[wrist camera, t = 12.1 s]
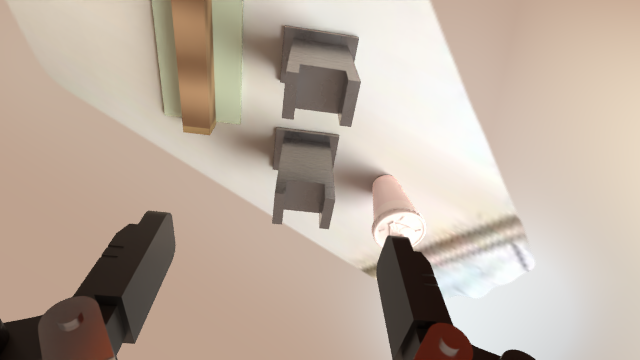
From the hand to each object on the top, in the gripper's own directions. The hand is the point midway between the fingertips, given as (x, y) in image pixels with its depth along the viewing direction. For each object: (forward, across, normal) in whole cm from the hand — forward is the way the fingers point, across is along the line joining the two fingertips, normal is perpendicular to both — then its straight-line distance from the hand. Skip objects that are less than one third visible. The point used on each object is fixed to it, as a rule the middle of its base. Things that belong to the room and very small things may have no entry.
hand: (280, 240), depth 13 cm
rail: (+30, +11, +2) cm, 32 cm away
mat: (+30, +11, +2) cm, 32 cm away
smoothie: (+30, -14, +17) cm, 37 cm away
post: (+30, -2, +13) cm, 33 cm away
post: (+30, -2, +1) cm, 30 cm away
